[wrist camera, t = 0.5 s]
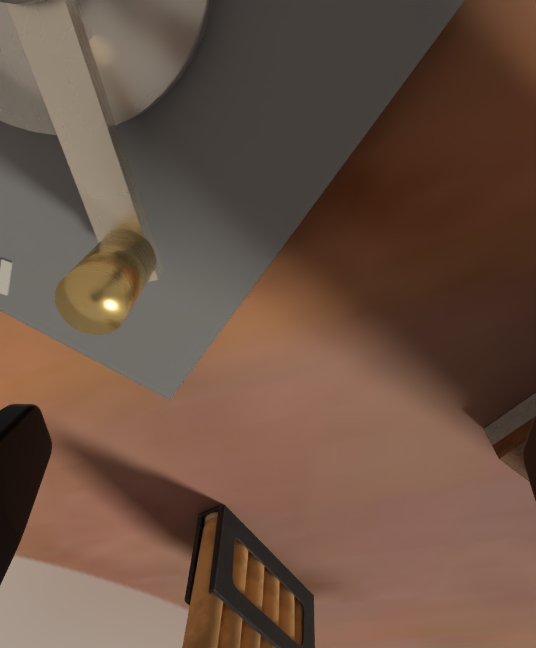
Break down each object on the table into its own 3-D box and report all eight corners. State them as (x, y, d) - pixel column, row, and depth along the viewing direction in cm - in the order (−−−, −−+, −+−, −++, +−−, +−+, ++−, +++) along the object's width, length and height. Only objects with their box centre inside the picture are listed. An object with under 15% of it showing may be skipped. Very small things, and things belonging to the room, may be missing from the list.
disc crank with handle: (-220, -252, 12) (-558, -454, 7) (156, -386, 11) (48, -739, 6) (34, 282, 19) (-51, 357, 14) (276, 240, 18) (271, 309, 13)
